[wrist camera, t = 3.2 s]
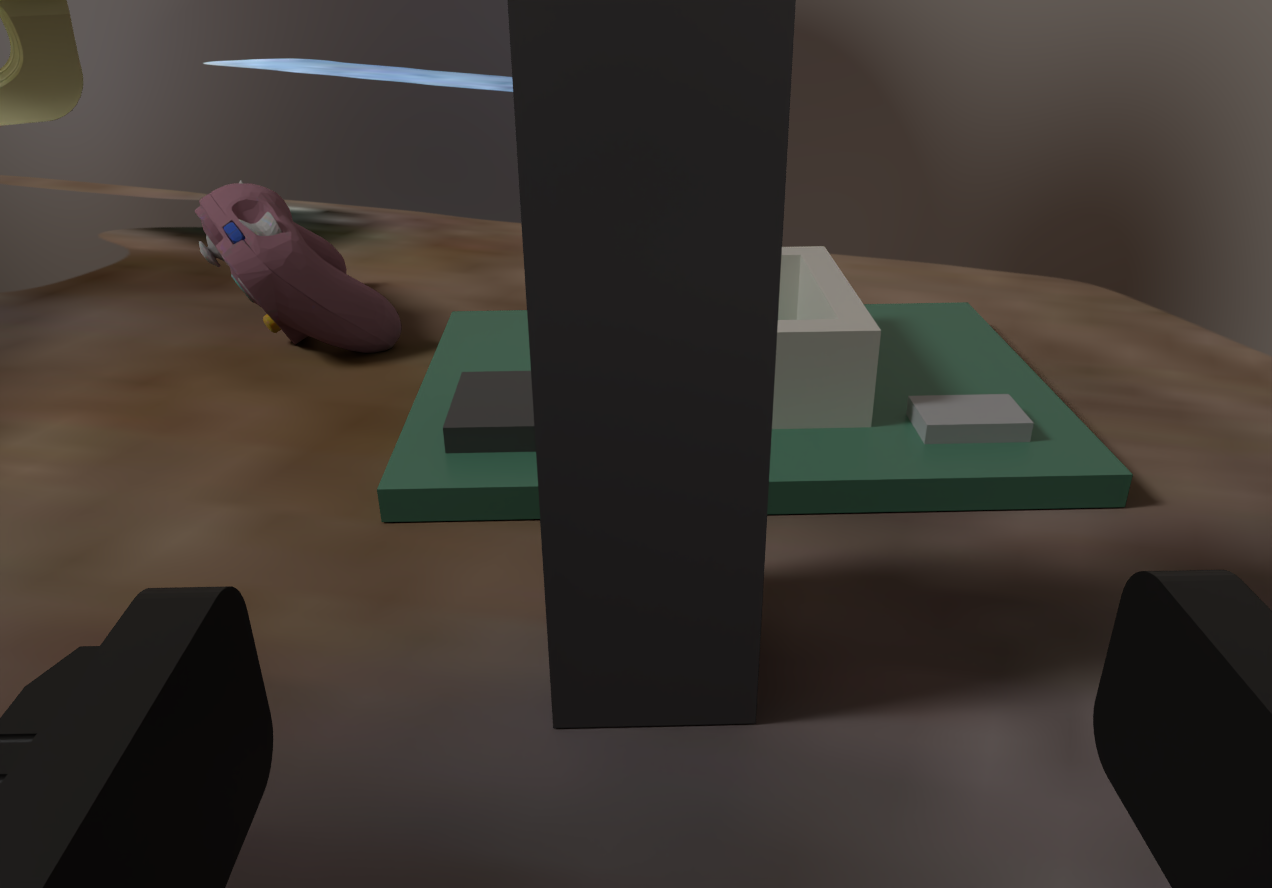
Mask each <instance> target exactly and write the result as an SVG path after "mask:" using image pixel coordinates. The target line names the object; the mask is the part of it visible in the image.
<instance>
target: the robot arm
mask: <svg viewBox="0 0 1272 888" xmlns="http://www.w3.org/2000/svg"><path fill="white" fill-rule="evenodd" d="M1093 726H1094V736H1095V743H1096V747H1097V751H1098V755H1099V758H1100V761H1101V764H1102V766H1103V769H1104V771H1105V773H1106V775H1107V777H1108V779H1109V780H1110V782H1111V784H1112V786H1113V787H1114V789H1115V791H1116V793H1117V794H1118V796H1119V798H1120V799H1121V801H1122V803H1123V805H1124V806H1125V808H1126V810H1127V811H1128V813H1129V815H1130V817H1131V818H1132V820H1133V822H1134V823H1135V825H1136V827H1137V829H1138V830H1139V832H1140V834H1141V835H1142V837H1143V839H1144V841H1145V842H1146V844H1147V846H1148V847H1149V849H1150V851H1151V853H1152V854H1153V856H1154V858H1155V859H1156V861H1157V863H1158V865H1159V866H1160V868H1161V870H1162V872H1163V873H1164V875H1165V877H1166V878H1167V880H1168V882H1169V884H1170V885H1171V887H1172V888H1272V611H1271V610H1270V609H1269V608H1268V607H1267V606H1266V605H1265V604H1264V603H1263V602H1262V601H1261V600H1260V599H1259V597H1258V596H1257V595H1256V594H1255V593H1254V592H1253V591H1252V590H1251V589H1250V588H1249V587H1248V586H1247V585H1246V584H1245V583H1244V582H1243V581H1242V580H1241V579H1240V578H1239V577H1238V576H1236V575H1235V574H1233V573H1231V572H1230V571H1226V570H1189V571H1141V572H1137V573H1135V574H1134V575H1132V576H1131V577H1130V579H1129V580H1128V581H1127V583H1126V585H1125V587H1124V589H1123V593H1122V596H1121V600H1120V604H1119V608H1118V612H1117V616H1116V620H1115V624H1114V628H1113V632H1112V636H1111V640H1110V644H1109V648H1108V652H1107V656H1106V660H1105V664H1104V668H1103V672H1102V676H1101V680H1100V684H1099V688H1098V692H1097V696H1096V700H1095V705H1094V714H1093ZM272 752H273V727H272V719H271V713H270V709H269V704H268V700H267V696H266V691H265V687H264V682H263V678H262V673H261V669H260V665H259V660H258V656H257V651H256V647H255V642H254V638H253V634H252V629H251V625H250V620H249V616H248V611H247V608H246V604H245V601H244V599H243V597H242V595H241V593H240V592H239V591H238V590H237V589H236V588H234V587H184V588H147V589H145V590H143V591H141V592H140V593H139V594H138V595H137V596H136V597H135V598H134V600H133V601H132V602H131V604H130V605H129V607H128V608H127V609H126V611H125V612H124V614H123V615H122V616H121V618H120V619H119V620H118V622H117V623H116V625H115V626H114V627H113V629H112V630H111V632H110V633H109V634H108V636H107V637H106V638H105V640H104V641H103V643H102V644H101V645H100V646H83V647H79V648H77V649H76V650H75V651H73V652H72V653H71V654H69V655H68V656H66V657H65V658H64V659H62V660H61V661H60V662H58V663H57V664H55V665H54V666H53V667H51V668H50V669H49V670H47V671H46V672H45V673H43V674H42V675H40V676H39V677H38V678H36V679H35V680H34V681H32V682H31V683H29V684H28V685H27V686H25V687H24V689H23V690H22V691H21V692H20V694H19V695H18V696H17V697H16V699H15V700H14V701H13V703H12V704H11V705H10V706H9V708H8V709H7V710H6V712H5V713H4V714H3V715H2V717H1V718H0V888H225V886H226V884H227V881H228V879H229V876H230V874H231V872H232V869H233V867H234V864H235V862H236V859H237V857H238V854H239V852H240V850H241V847H242V845H243V842H244V840H245V837H246V835H247V832H248V830H249V828H250V825H251V823H252V820H253V818H254V815H255V813H256V810H257V808H258V805H259V803H260V801H261V798H262V796H263V793H264V791H265V788H266V785H267V781H268V778H269V773H270V768H271V761H272Z"/></svg>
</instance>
